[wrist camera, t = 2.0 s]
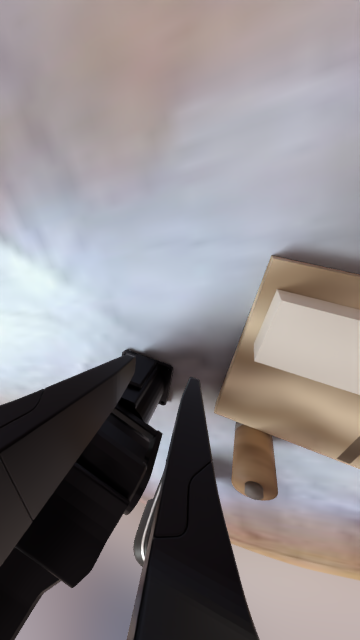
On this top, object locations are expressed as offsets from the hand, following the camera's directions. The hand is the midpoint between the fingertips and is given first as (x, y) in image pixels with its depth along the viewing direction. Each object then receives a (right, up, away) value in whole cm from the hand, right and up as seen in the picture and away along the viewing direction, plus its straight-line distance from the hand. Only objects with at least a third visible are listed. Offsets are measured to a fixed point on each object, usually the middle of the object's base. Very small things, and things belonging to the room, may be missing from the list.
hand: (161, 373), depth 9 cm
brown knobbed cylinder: (+9, -10, +15) cm, 20 cm away
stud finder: (+11, +1, +6) cm, 13 cm away
